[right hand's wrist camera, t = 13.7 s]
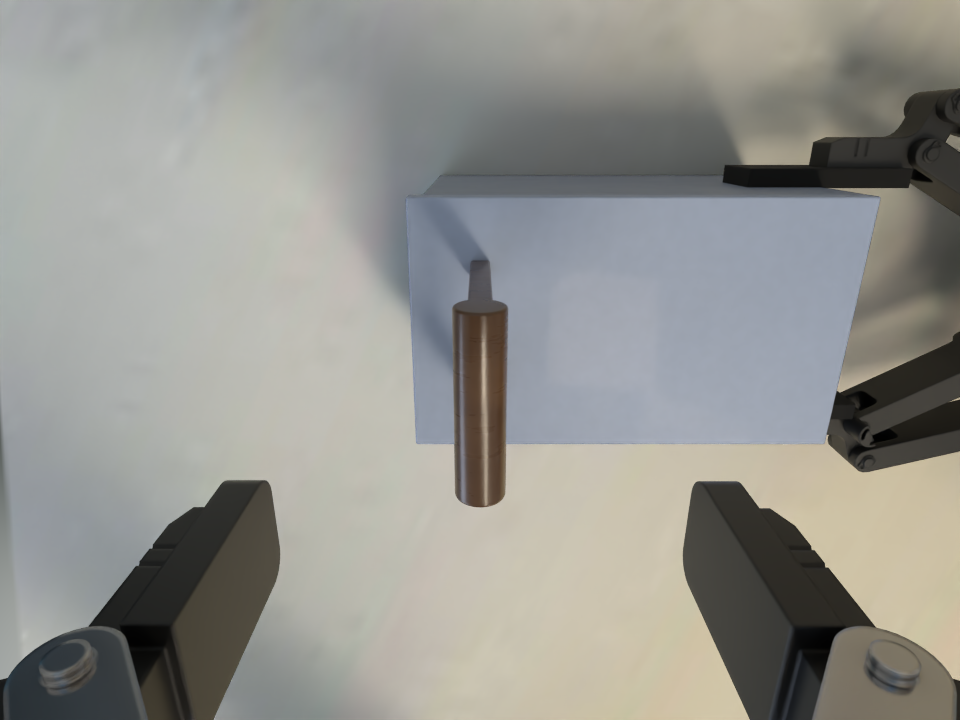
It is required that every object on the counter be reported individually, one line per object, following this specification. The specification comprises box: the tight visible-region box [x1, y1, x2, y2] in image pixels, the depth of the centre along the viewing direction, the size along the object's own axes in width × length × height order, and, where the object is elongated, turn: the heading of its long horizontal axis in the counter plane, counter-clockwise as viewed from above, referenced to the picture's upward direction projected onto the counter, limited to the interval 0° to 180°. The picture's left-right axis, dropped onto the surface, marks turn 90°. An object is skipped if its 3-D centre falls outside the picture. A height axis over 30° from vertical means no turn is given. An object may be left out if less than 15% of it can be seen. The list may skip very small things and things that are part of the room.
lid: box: [406, 195, 880, 507], centre depth 19 cm, size 16×10×8 cm, turn 90°
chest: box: [423, 175, 864, 195], centre depth 28 cm, size 16×10×10 cm, turn 90°
